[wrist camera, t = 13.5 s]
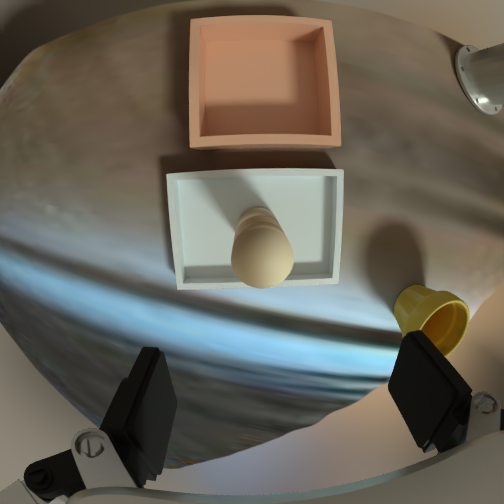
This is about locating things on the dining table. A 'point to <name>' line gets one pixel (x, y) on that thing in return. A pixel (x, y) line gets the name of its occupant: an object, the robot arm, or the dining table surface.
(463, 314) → the plant pot
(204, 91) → the peach square hollow box
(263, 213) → the maple peg
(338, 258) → the grey tray
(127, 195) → the dining table surface
